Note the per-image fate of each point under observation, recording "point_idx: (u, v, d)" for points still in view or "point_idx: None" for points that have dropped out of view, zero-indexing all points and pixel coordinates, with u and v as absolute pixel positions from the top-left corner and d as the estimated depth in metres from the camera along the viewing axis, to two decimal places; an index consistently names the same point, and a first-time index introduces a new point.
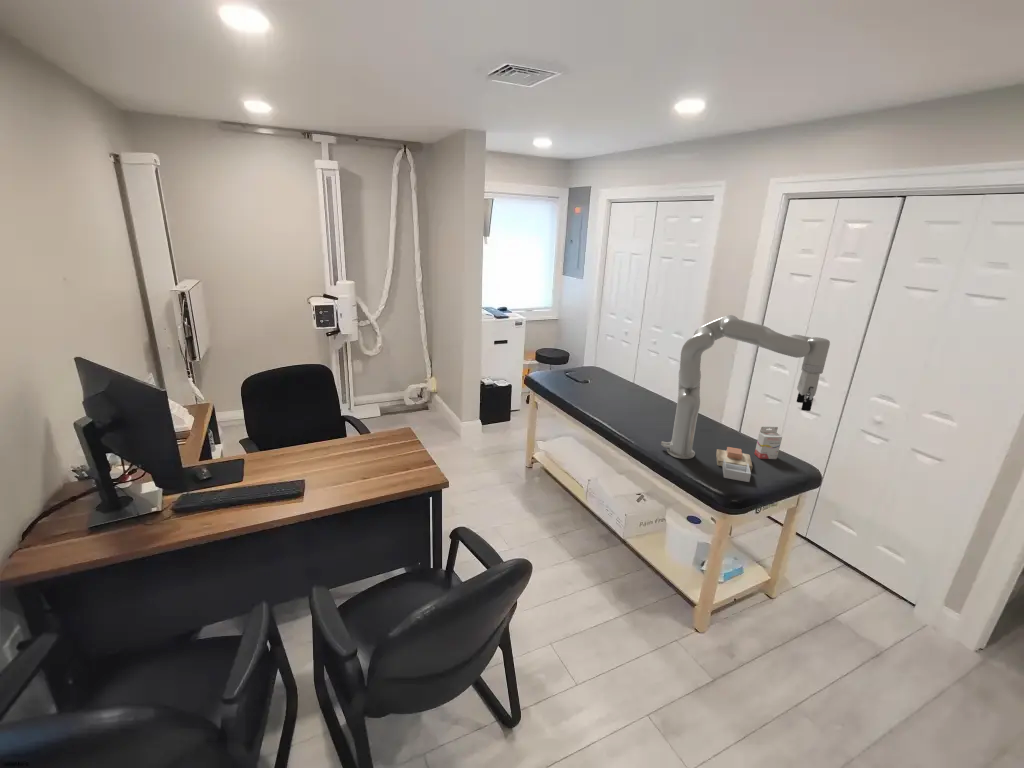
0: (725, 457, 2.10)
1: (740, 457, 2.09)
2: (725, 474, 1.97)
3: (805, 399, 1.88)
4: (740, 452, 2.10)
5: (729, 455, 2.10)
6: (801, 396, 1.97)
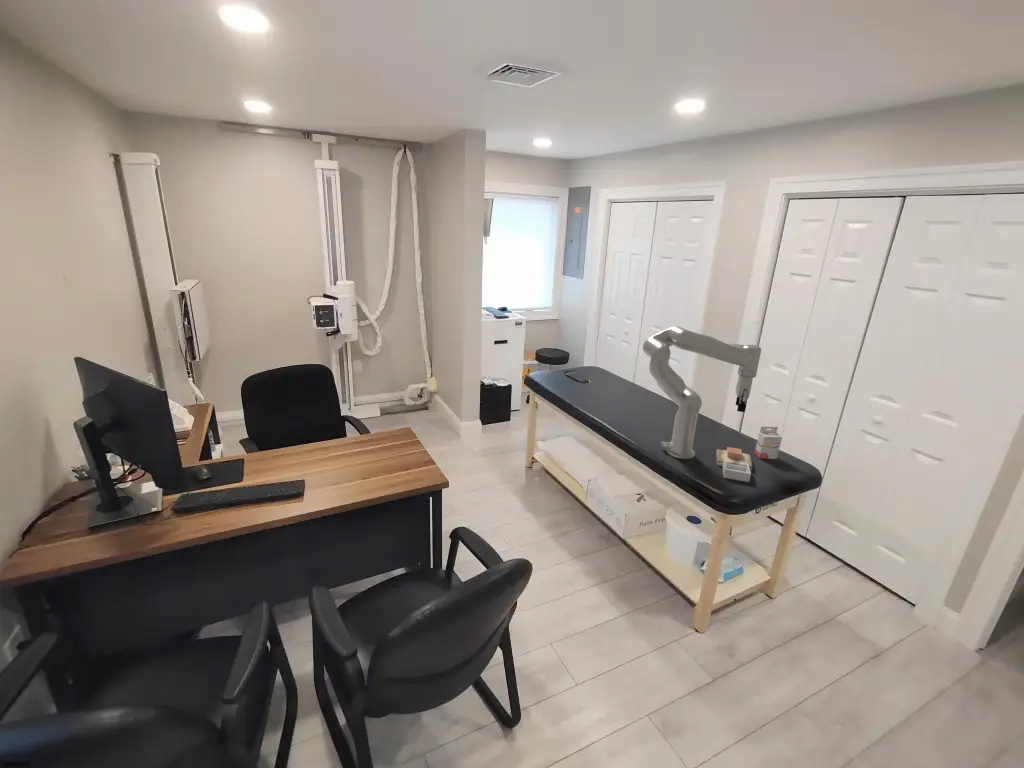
0: (725, 457, 2.10)
1: (740, 457, 2.09)
2: (725, 474, 1.97)
3: (740, 401, 2.08)
4: (740, 452, 2.10)
5: (729, 455, 2.10)
6: (739, 399, 2.16)
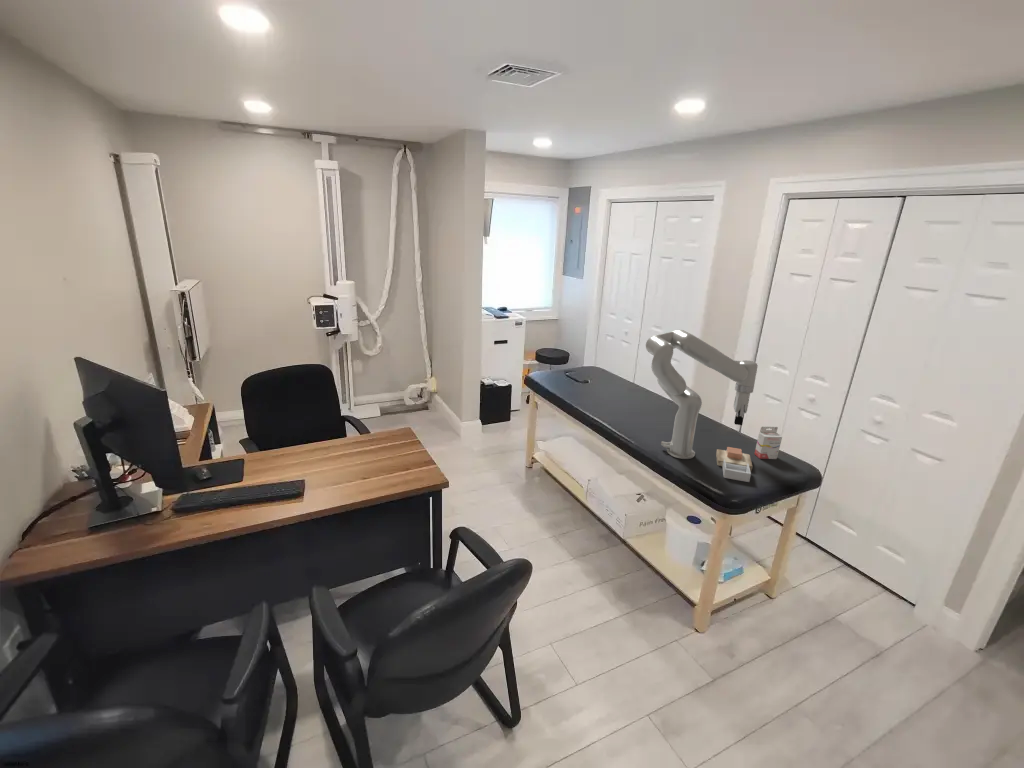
0: (725, 457, 2.10)
1: (740, 457, 2.09)
2: (725, 474, 1.97)
3: (736, 416, 2.14)
4: (740, 452, 2.10)
5: (729, 455, 2.10)
6: None
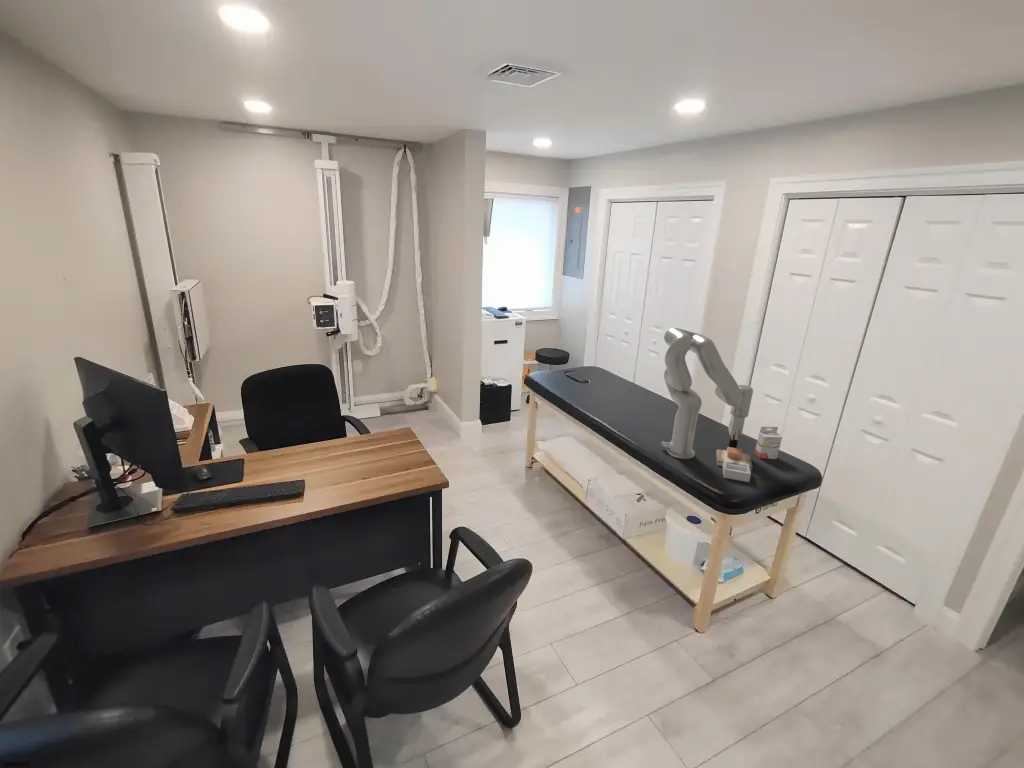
0: (725, 457, 2.10)
1: (740, 457, 2.09)
2: (725, 474, 1.97)
3: (731, 439, 2.16)
4: (740, 452, 2.10)
5: (729, 455, 2.10)
6: None
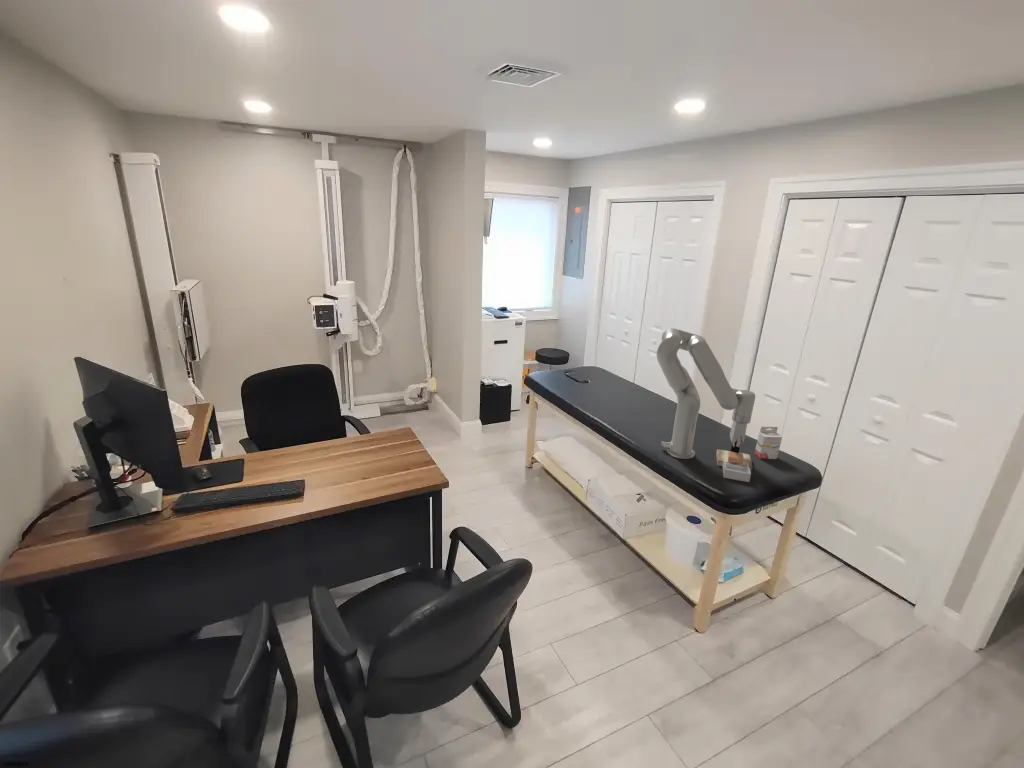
0: (725, 457, 2.10)
1: (741, 462, 2.04)
2: (725, 474, 1.97)
3: (733, 446, 2.09)
4: (741, 457, 2.05)
5: (730, 459, 2.06)
6: None
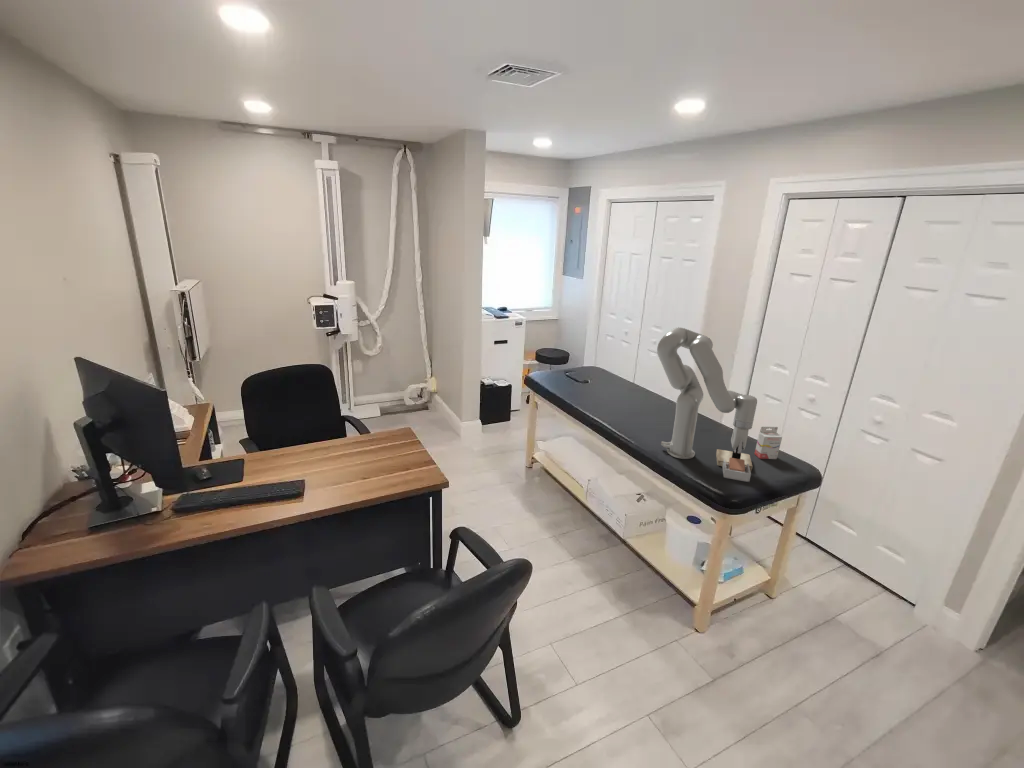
0: (725, 457, 2.10)
1: None
2: (725, 474, 1.97)
3: (734, 452, 2.03)
4: (743, 466, 2.00)
5: None
6: None
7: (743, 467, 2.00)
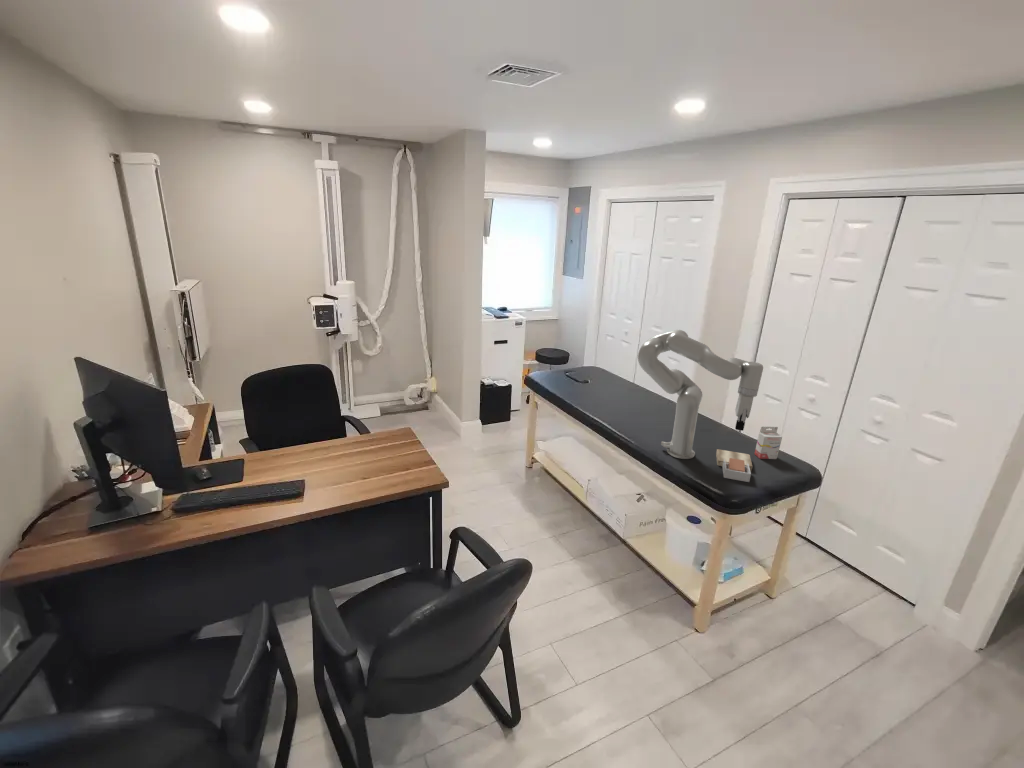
0: (725, 457, 2.10)
1: None
2: (725, 474, 1.97)
3: (738, 420, 2.00)
4: (743, 467, 2.00)
5: None
6: None
7: (743, 467, 2.00)
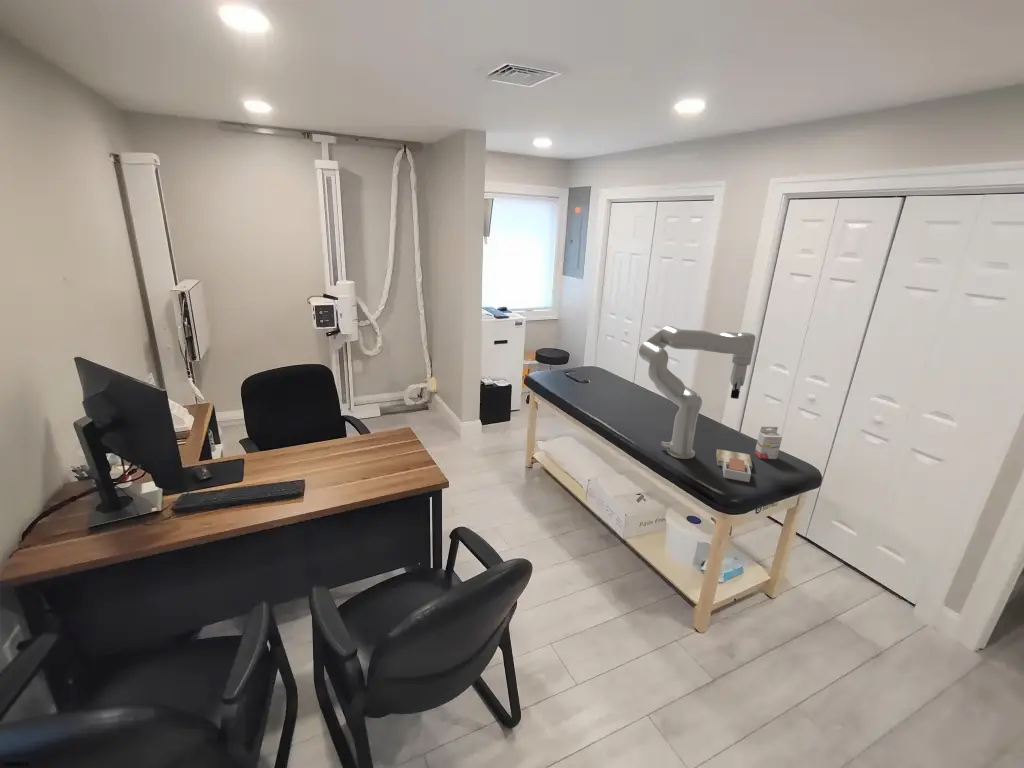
0: (725, 457, 2.10)
1: None
2: (725, 474, 1.97)
3: (733, 389, 2.11)
4: (743, 467, 2.00)
5: None
6: None
7: (743, 467, 2.00)
